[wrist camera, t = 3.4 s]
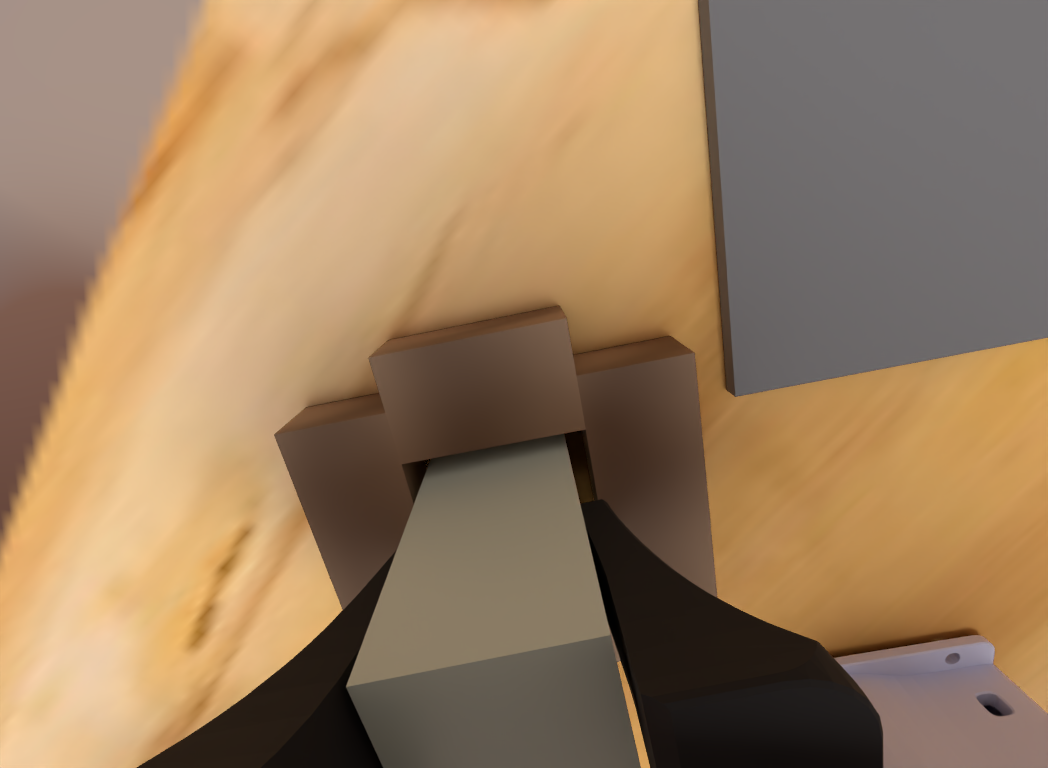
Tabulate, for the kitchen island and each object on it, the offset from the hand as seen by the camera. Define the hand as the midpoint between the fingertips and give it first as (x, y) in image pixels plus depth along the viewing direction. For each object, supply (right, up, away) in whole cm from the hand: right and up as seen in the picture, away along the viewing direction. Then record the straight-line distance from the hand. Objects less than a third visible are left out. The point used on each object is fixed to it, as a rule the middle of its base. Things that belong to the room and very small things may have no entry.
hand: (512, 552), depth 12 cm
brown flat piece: (0, +1, +3) cm, 3 cm away
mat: (+10, +10, 0) cm, 14 cm away
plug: (0, +1, +3) cm, 3 cm away
